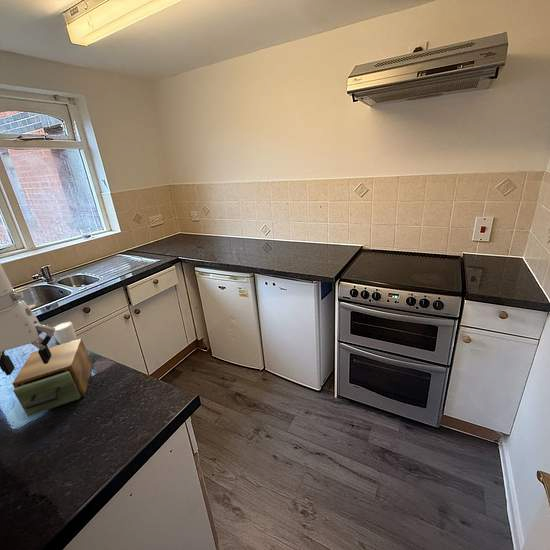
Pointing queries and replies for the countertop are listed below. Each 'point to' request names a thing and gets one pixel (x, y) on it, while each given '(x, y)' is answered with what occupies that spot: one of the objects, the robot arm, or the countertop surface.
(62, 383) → the drawer
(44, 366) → the cabinet
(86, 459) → the countertop surface
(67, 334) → the white short cylinder
